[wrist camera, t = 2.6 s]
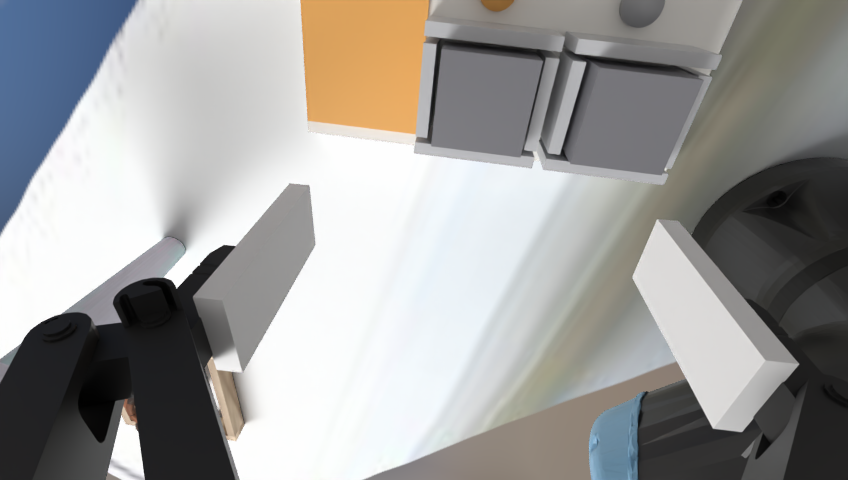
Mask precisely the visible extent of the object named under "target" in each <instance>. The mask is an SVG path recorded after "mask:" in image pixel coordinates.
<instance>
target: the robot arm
mask: <svg viewBox="0 0 848 480" xmlns="http://www.w3.org/2000/svg"><path fill="white" fill-rule="evenodd" d="M314 246H315V236H314V226H313V216H312V207H311V197H310V187H309V185H300V184H289V185H288V186H287V187H286V189H285V190H284V191H283V192H282V193H281V194H280V196H279V197H278V198H277V199H276V200H275V201H274V203H273V204H272V205H271V206H270V207H269V208H268V210H267V211H266V212H265V213H264V214H263V215H262V217H261V218H260V219H259V220H258V221H257V222H256V224H255V225H254V226H253V227H252V228H251V229H250V231H249V232H248V233H247V234H246V235H245V236H244V238H243V239H242V240H241V241H240V242H239V243H238V245H237V246H228V245H223V246H222V247H220V248H218V249H216V250H215V251H213V252H211V253H210V254H209V255H208V256H207V257H206V258H205V259H204V260H203V261H202V262H201V263H200V266H198V267H197V268H196V269H195V270H194V271H193V273H192V274H190V275H189V276H188V277H187V278H186V279H185V281H184V282H183V283H182V284H181V285H180V286H179V287H178V288H177V289H176V287H175V285H174V283H173V282H172V281H171V280H168V279H166V278H155V277H153V278H148V279H142V280H139V281H137V282H134V283H131V284H129V285H128V286H126V287H124V288H123V289H121V290H120V291H119V292H118V293H117V294H116V296H115V297H114V300H113V306H114V308H115V310H116V312H117V314H118V316H119V318H120V320H121V323H113V324H105V325H96V326H95V324H94V322H93V321H92V319H91V318H90V317H89V316H88V315H87V314H85V313H80V312H72V313H65V314H61V315H57V316H54V317H52V318H49V319H47V320H45V321H43V322H41V323H40V324H38V325H37V326H35V327H34V328H33V329H31V330H30V332H29V333H28V334H27V335H26V336H25V338H24V340H23V342H22V343H21V345H20V347H19V349H18V351H17V353H16V355H15V356H14V358H13V360H12V362H11V364H10V366H9V367H8V369H7V371H6V373H5V375H4V377H3V379H2V380H1V382H0V480H106V476H107V472H108V468H109V464H110V459H111V455H112V451H113V447H114V443H115V439H116V434H117V430H118V426H119V422H120V418H121V414H122V409H123V405H124V401H125V399H130V398H134V402H135V410H136V417H137V424H138V432H139V439H140V447H141V454H142V461H143V469H144V476H145V480H239V476H238V473H237V470H236V467H235V464H234V461H233V457H232V454H231V451H230V448H229V445H228V441H227V438H226V435H225V432H224V429H223V425H222V422H221V419H220V416H219V413H218V409H217V406H216V403H215V400H214V397H213V393H212V390H211V387H210V384H209V381H208V377H207V374H206V371H205V369H204V368H205V366H206V365H207V363H208V362H209V360H210V359H211V357H213V360H214V363H215V366H216V369H217V370H222V371H231V372H239V373H243V371H244V370H245V368H246V366H247V364H248V363H249V361H250V359H251V357H252V356H253V354H254V352H255V350H256V348H257V347H258V345H259V343H260V341H261V340H262V338H263V336H264V334H265V333H266V331H267V329H268V327H269V326H270V324H271V322H272V320H273V319H274V317H275V315H276V313H277V312H278V310H279V308H280V306H281V304H282V303H283V301H284V299H285V297H286V296H287V294H288V292H289V290H290V289H291V287H292V285H293V283H294V282H295V280H296V278H297V276H298V275H299V273H300V271H301V269H302V268H303V266H304V264H305V262H306V260H307V259H308V257H309V255H310V253H311V252H312V250H313V248H314ZM632 278H633V280H634V282H635V284H636V286H637V287H638V289H639V291H640V293H641V295H642V297H643V299H644V301H645V302H646V304H647V306H648V308H649V310H650V312H651V314H652V316H653V317H654V319H655V321H656V323H657V325H658V327H659V329H660V330H661V332H662V334H663V336H664V338H665V340H666V342H667V344H668V345H669V347H670V349H671V351H672V353H673V355H674V357H675V358H676V360H677V362H678V364H679V366H680V368H681V370H682V372H683V373H684V375H685V377H686V379H684V380H681V381H678V382H676V383H673V384H670V385H668V386H665V387H662V388H660V389H656V390H654V391H651V392H647V391H646V392H642V393H639V394H638V395H637V396H636V398H634V399H631V400H629V401H627V402H624V403H622V404H620V405H618V406H615V407H613V408H611V409H608V410H606V411H604V412H603V413H602V414H601V415H599V417H598V418H597V419H596V421H595V422H594V424H593V427H592V430H591V433H590V439H589V453H590V456H589V463H590V472H591V478H592V480H848V160H845V159H839V158H812V159H804V160H798V161H794V162H789V163H786V164H782V165H779V166H776V167H773V168H771V169H768V170H765V171H763V172H761V173H759V174H757V175H755V176H753V177H751V178H749V179H747V180H745V181H744V182H742V183H740V184H739V185H737V186H736V187H734V188H733V189H731V190H730V191H729V192H727V193H726V194H725V195H724V196H722V197H721V198H720V199H719V200H718V201H717V202H716V203H715V204H714V205H713V206H712V207H711V208H710V209H709V210H708V211H707V212H706V214H705V215H704V216H703V217H702V219H701V220H700V222H699V223H698V225H697V226H696V228H695V230H694V232H693V234H692V236H691V235H690V234H689V233H688V232H687V231H686V229H685V228H684V227H683V226H682V225H681V223H680V222H679V221H672V220H662V219H657V221H656V223H655V226H654V228H653V230H652V233H651V235H650V237H649V240H648V242H647V244H646V247H645V249H644V251H643V253H642V256H641V258H640V260H639V263H638V265H637V267H636V270H635V272H634V274H633V277H632Z"/></svg>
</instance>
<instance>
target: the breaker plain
mask: <svg viewBox="0 0 848 480" xmlns="http://www.w3.org/2000/svg"><path fill="white" fill-rule="evenodd" d="M585 62H587V63H586V66H585V70H584V73H583V76H582V80H581V83H580V87H579V90H578V94H577V97H576V101H575V104H574V108H573V111H572V114H571V118H570V121H569V125H568V128H567V132H566V135H565V139H564V142H563V146H562V149H563V151H564V153H565V155H566V157H567V159H568V161H569V162H570V164H575V165H582V166H590V167H598V168H606V169H614V170H622V171H630V172H638V173H646V174H654V175H661V176H662V174H663V171H664V169H665V167H666V165H667V162H668V160H669V158H670V156H671V153H672V151H673V149H674V147H675V144H676V142H677V140H678V138H679V135H680V133H681V131H682V129H683V126H684V124H685V122H686V120H687V117H688V115H689V113H690V111H691V108H692V106H693V104H694V102H695V100H696V97H697V95H698V93H699V91H700V88H701V86H702V84H703V82H704V80H703V79H700V78H698V77H696V76H694V75H691V74H689V73H687V72H684V71H682V70H680V69H677V68H669V67H660V66H652V65H643V64H635V63H626V62H618V61H609V60H601V59H592V58H585Z"/></svg>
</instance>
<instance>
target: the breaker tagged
mask: <svg viewBox="0 0 848 480" xmlns="http://www.w3.org/2000/svg"><path fill="white" fill-rule="evenodd" d="M542 64H543V60H542V59H541V58H540V57H539V56H538V54H537V53H536V52H533V51H524V50H516V49H507V48H499V47H491V46H482V45H474V44H465V43H457V42H448V41H445V42H444V45H443V47H442V50H441V59H440V68H439V78H438V87H437V96H436V105H435V115H434V124H433V133H432V142H431V146H432V147H440V148H448V149H456V150H464V151H472V152H480V153H488V154H496V155H504V156H511V157H519V158H520V157H521V153H522V149H523V145H524V140H525V136H526V132H527V128H528V123H529V119H530V115H531V111H532V106H533V102H534V98H535V94H536V89H537V85H538V81H539V77H540V72H541V68H542Z"/></svg>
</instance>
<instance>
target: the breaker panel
mask: <svg viewBox="0 0 848 480" xmlns="http://www.w3.org/2000/svg"><path fill="white" fill-rule="evenodd" d="M742 1H743V0H301V17H302V33H303V50H304V66H305V83H306V99H307V115H308V130H309V132H313V133H321V134H329V135H337V136H345V137H352V138H360V139H368V140H376V141H384V142H392V143H400V144H408V145H415V148H414V153H416V154H424V155H431V156H439V157H447V158H455V159H463V160H471V161H479V162H486V163H494V164H502V165H510V166H518V167H526V168H532V166H533V162H534V161H540V162H541V165H542V167H543V170H549V171H557V172H565V173H573V174H581V175H588V176H596V177H604V178H612V179H620V180H628V181H636V182H643V183H651V184H659V185H664V183H665V181H666V179H667V177H668V175H669V174H668V173H667V172H666V170H667V168H669V169H671V168H672V166H673V164H674V161H675V159H676V157H677V155H678V153H679V150H680V148H681V146H682V144H683V142H684V139H685V137H686V135H687V133H688V131H689V128H690V126H691V124H692V122H693V120H694V117H695V115H696V113H697V111H698V109H699V106H700V104H701V102H702V100H703V98H704V95H705V93H706V91H707V89H708V87H709V84H710V82H711V80H712V78H713V77H711V76H709V74H710V72H711V70H716V69H717V67H718V65H719V62H720V60H721V58H722V56H723V55H720V54H719V52H720V50H721V48H722V46H723V43H724V41H725V39H726V37H727V34H728V32H729V30H730V28H731V25H732V23H733V21H734V19H735V17H736V14H737V12H738V10H739V8H740V5H741V3H742ZM445 41H448V42H457V43H465V44H474V45H482V46H491V47H499V48H507V49H516V50H524V51H533V52H536V53H537V54H538V56H539V57H540V58H541V59H542V60H543V64H542V68H541V72H540V77H539V81H538V85H537V89H536V94H535V98H534V102H533V106H532V111H531V115H530V119H529V123H528V128H527V132H526V136H525V140H524V145H523V149H522V153H521V157H520V158H519V157H511V156H504V155H496V154H488V153H480V152H472V151H464V150H456V149H448V148H440V147H432V146H431V142H432V133H433V124H434V115H435V105H436V96H437V87H438V78H439V68H440V59H441V50H442V47H443V45H444V42H445ZM585 58H592V59H601V60H609V61H618V62H626V63H635V64H643V65H652V66H660V67H669V68H677V69H680V70H682V71H684V72H687V73H689V74H691V75H694V76H696V77H698V78H700V79H703V80H704V82H703V84H702V86H701V88H700V91H699V93H698V95H697V97H696V100H695V102H694V104H693V106H692V108H691V111H690V113H689V115H688V117H687V120H686V122H685V124H684V126H683V129H682V131H681V133H680V135H679V138H678V140H677V142H676V144H675V147H674V149H673V151H672V153H671V156H670V158H669V160H668V162H667V165H666V167H665V169H664V171H663V174H662V176H661V175H654V174H646V173H638V172H630V171H622V170H614V169H606V168H598V167H590V166H582V165H575V164H570V162H569V161H568V159H567V157H566V155H565V153H564V151H563V149H562V146H563V142H564V139H565V135H566V132H567V128H568V125H569V121H570V118H571V114H572V111H573V108H574V104H575V101H576V97H577V94H578V90H579V87H580V83H581V80H582V76H583V73H584V70H585V66H586V63H587V62H585Z"/></svg>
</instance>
